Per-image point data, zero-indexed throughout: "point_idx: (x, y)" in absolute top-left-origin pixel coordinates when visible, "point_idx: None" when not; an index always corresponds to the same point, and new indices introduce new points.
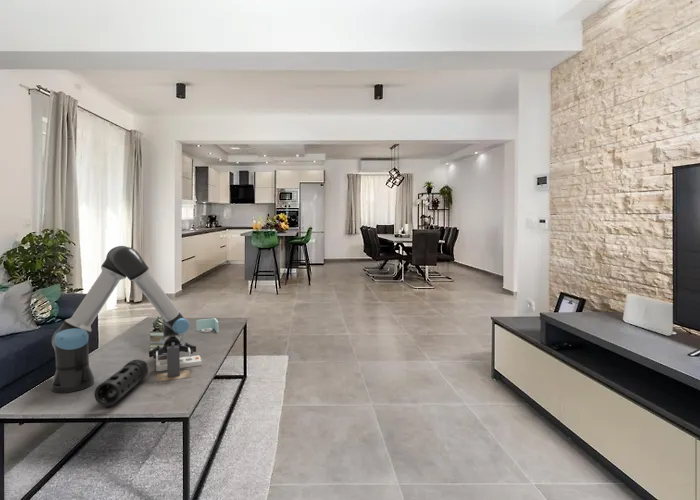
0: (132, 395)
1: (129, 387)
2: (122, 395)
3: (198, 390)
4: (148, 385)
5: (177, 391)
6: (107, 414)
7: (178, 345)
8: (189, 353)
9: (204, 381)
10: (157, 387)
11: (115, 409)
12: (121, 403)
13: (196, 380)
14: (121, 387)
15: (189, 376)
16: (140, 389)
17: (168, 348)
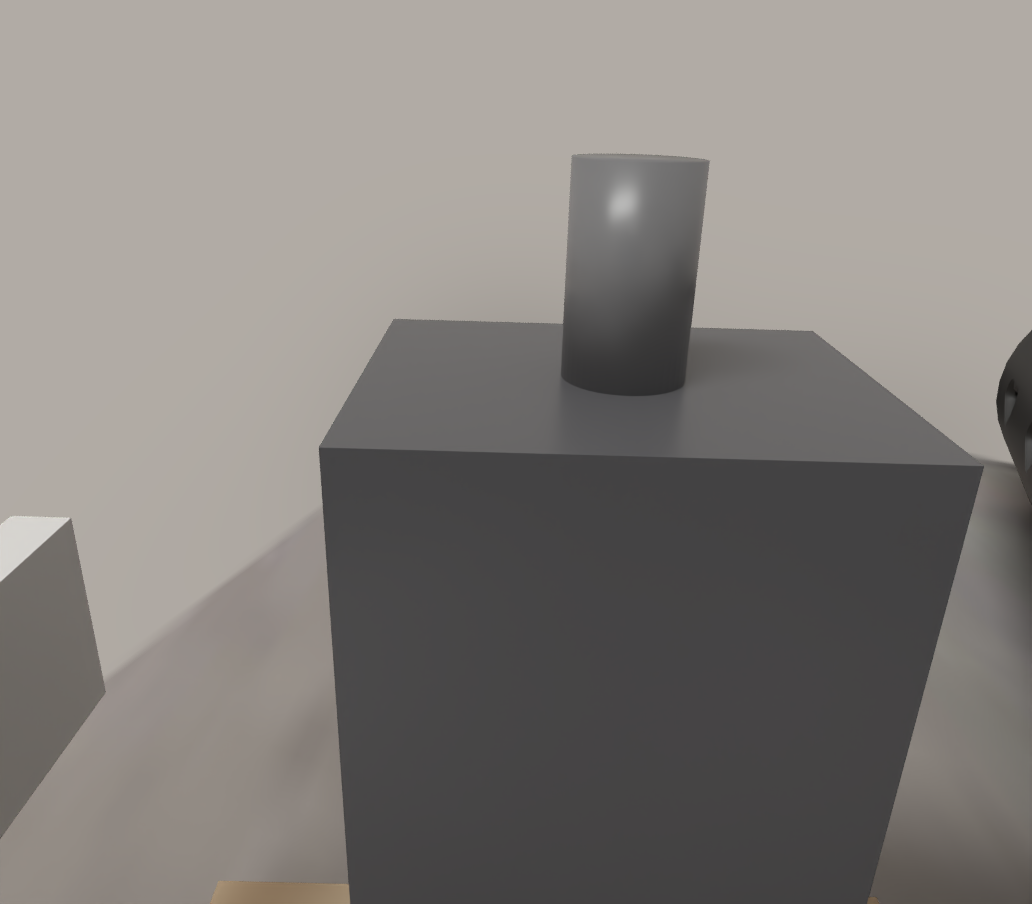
0: (1018, 637)
1: (1029, 476)
2: (1012, 455)
3: (320, 532)
4: (979, 850)
5: None
6: (1004, 464)
7: (345, 434)
8: (67, 576)
9: (135, 679)
10: None
11: (993, 492)
12: (1015, 544)
13: (207, 748)
14: (1025, 361)
15: (244, 896)
16: (1026, 752)
17: (779, 341)
